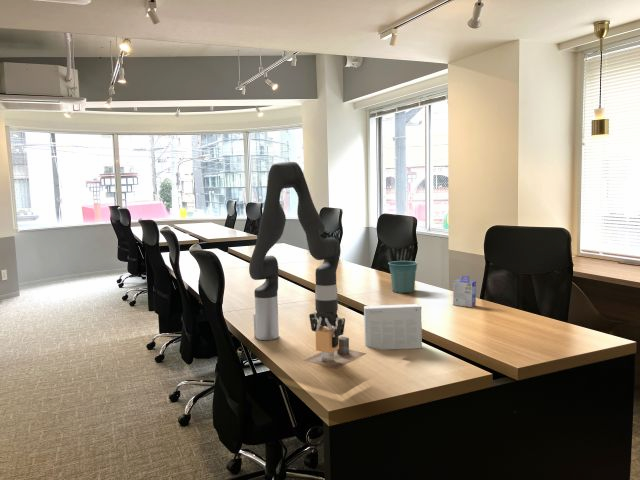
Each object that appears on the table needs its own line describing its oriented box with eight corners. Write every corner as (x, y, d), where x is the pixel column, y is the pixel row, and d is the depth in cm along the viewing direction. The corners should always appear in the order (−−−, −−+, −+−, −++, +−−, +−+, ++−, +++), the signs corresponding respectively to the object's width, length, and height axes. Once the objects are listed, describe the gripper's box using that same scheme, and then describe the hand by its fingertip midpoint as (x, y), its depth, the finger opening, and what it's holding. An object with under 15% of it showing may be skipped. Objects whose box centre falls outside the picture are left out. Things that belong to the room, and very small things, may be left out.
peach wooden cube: (316, 350, 173) (315, 330, 172) (326, 346, 177) (325, 326, 176) (329, 353, 169) (328, 333, 169) (339, 348, 174) (338, 329, 173)
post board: (303, 364, 175) (303, 344, 174) (335, 350, 189) (334, 331, 188) (336, 373, 166) (336, 352, 165) (366, 357, 180) (366, 338, 179)
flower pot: (382, 289, 289) (382, 262, 288) (406, 286, 296) (406, 259, 294) (399, 295, 275) (398, 266, 273) (423, 292, 281) (423, 263, 280)
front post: (321, 360, 174) (321, 345, 173) (327, 358, 176) (326, 343, 175) (328, 362, 172) (328, 346, 171) (333, 360, 174) (333, 344, 173)
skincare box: (419, 344, 194) (419, 303, 192) (422, 348, 188) (422, 307, 186) (364, 346, 193) (363, 305, 191) (365, 350, 188) (365, 308, 186)
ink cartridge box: (476, 305, 250) (476, 276, 248) (472, 307, 246) (472, 278, 244) (457, 302, 256) (457, 274, 254) (452, 305, 252) (453, 276, 250)
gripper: (302, 296, 173) (304, 344, 175) (336, 301, 164) (337, 352, 166) (316, 292, 179) (317, 339, 180) (350, 297, 170) (351, 346, 172)
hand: (327, 345), depth 173 cm, fingers closed on peach wooden cube, 5 cm apart
